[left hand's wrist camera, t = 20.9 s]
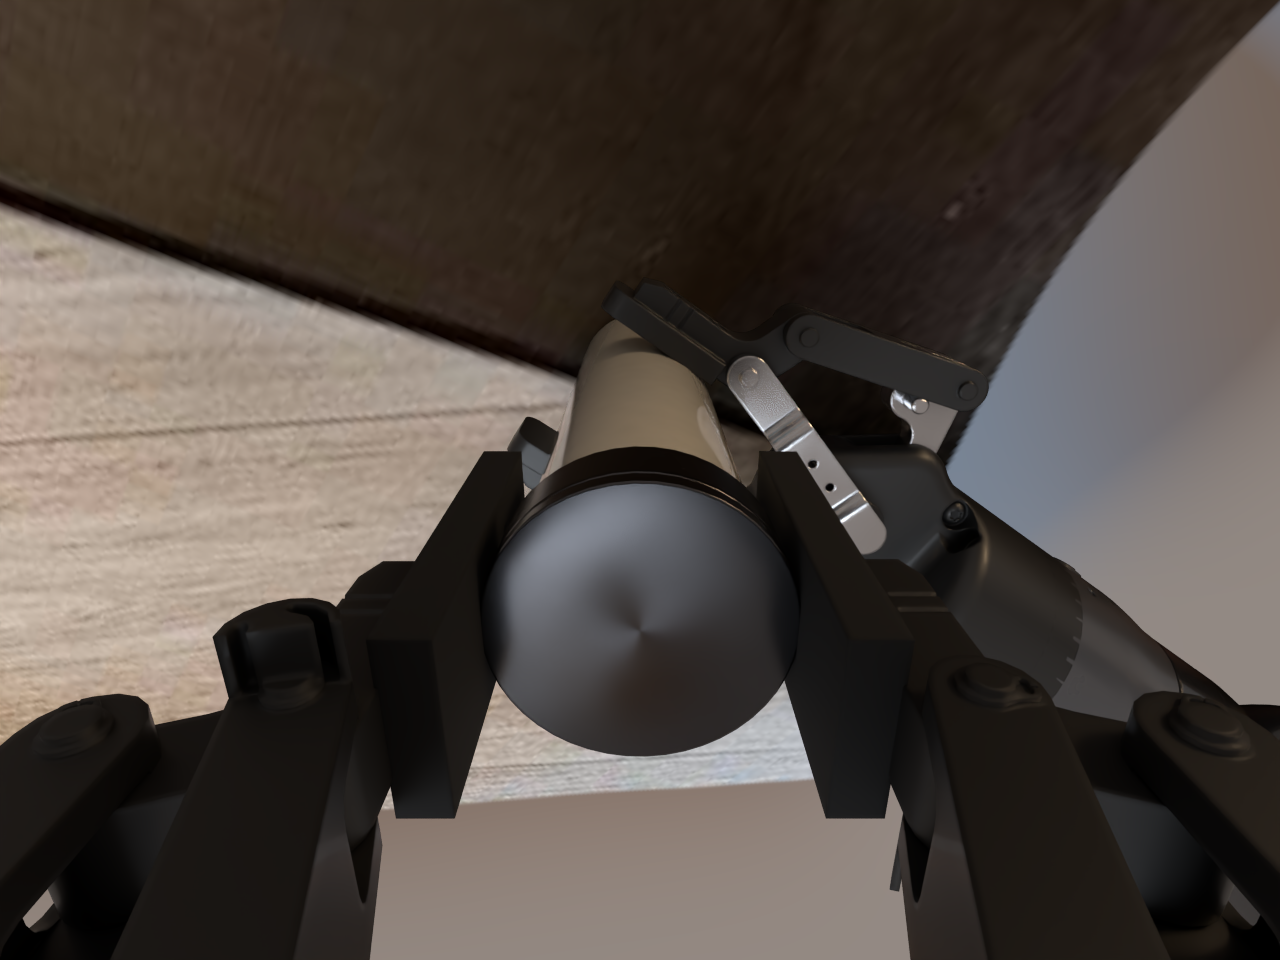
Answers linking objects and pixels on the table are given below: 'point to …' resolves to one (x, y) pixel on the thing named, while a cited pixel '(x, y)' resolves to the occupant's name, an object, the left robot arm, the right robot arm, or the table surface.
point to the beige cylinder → (636, 404)
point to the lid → (640, 604)
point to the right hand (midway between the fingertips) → (563, 367)
